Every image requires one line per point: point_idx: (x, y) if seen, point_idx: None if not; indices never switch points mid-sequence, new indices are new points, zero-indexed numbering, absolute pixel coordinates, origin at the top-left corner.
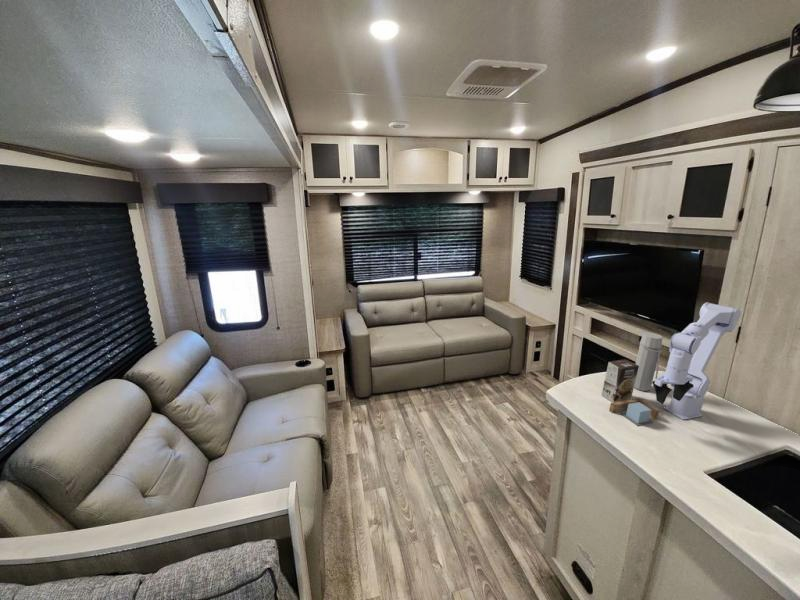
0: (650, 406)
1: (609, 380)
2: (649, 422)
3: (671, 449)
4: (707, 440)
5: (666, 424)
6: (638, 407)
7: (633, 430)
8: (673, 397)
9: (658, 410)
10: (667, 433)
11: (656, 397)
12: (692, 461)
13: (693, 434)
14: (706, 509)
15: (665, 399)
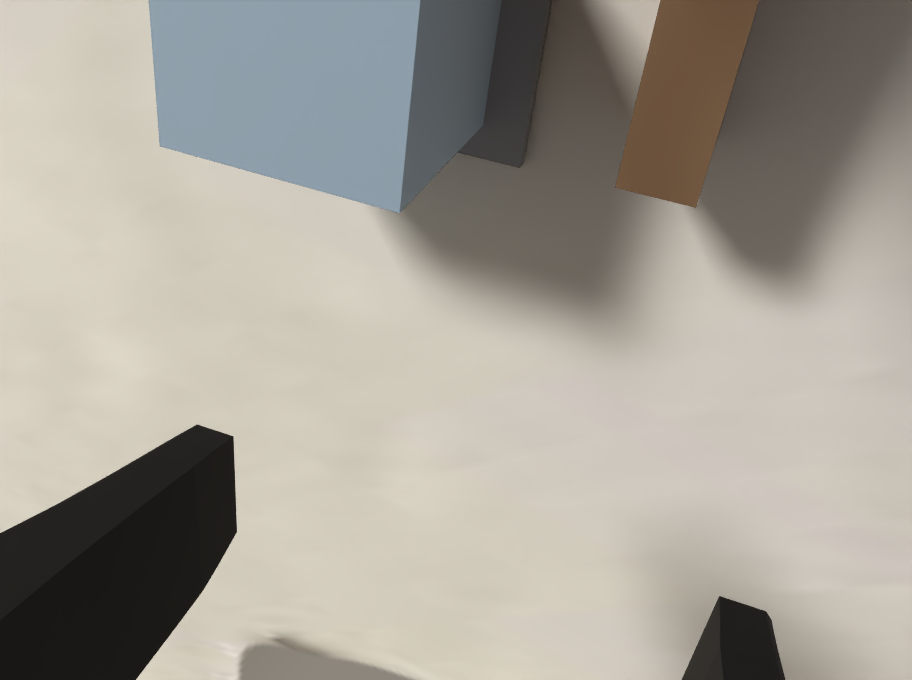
0: (704, 32)
1: None
2: (468, 144)
3: (271, 456)
4: (777, 620)
5: (682, 276)
6: (234, 42)
7: (139, 123)
8: (718, 612)
9: (693, 191)
10: (481, 355)
11: (135, 465)
12: (303, 580)
13: (763, 521)
14: None
15: (164, 640)
